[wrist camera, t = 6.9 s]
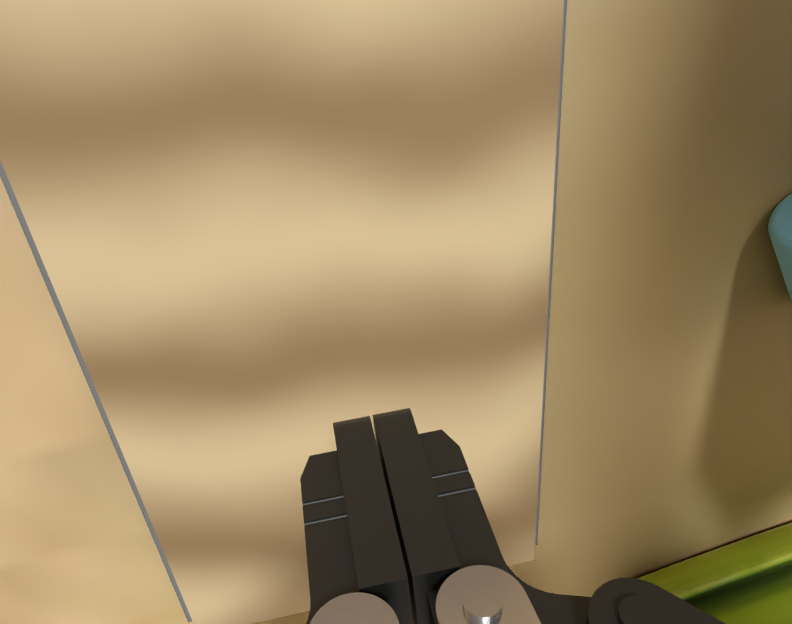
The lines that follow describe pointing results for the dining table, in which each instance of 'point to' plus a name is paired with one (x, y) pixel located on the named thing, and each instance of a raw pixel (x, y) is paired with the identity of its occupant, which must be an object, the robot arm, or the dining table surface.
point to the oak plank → (291, 248)
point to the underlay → (1, 173)
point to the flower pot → (737, 579)
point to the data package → (783, 238)
